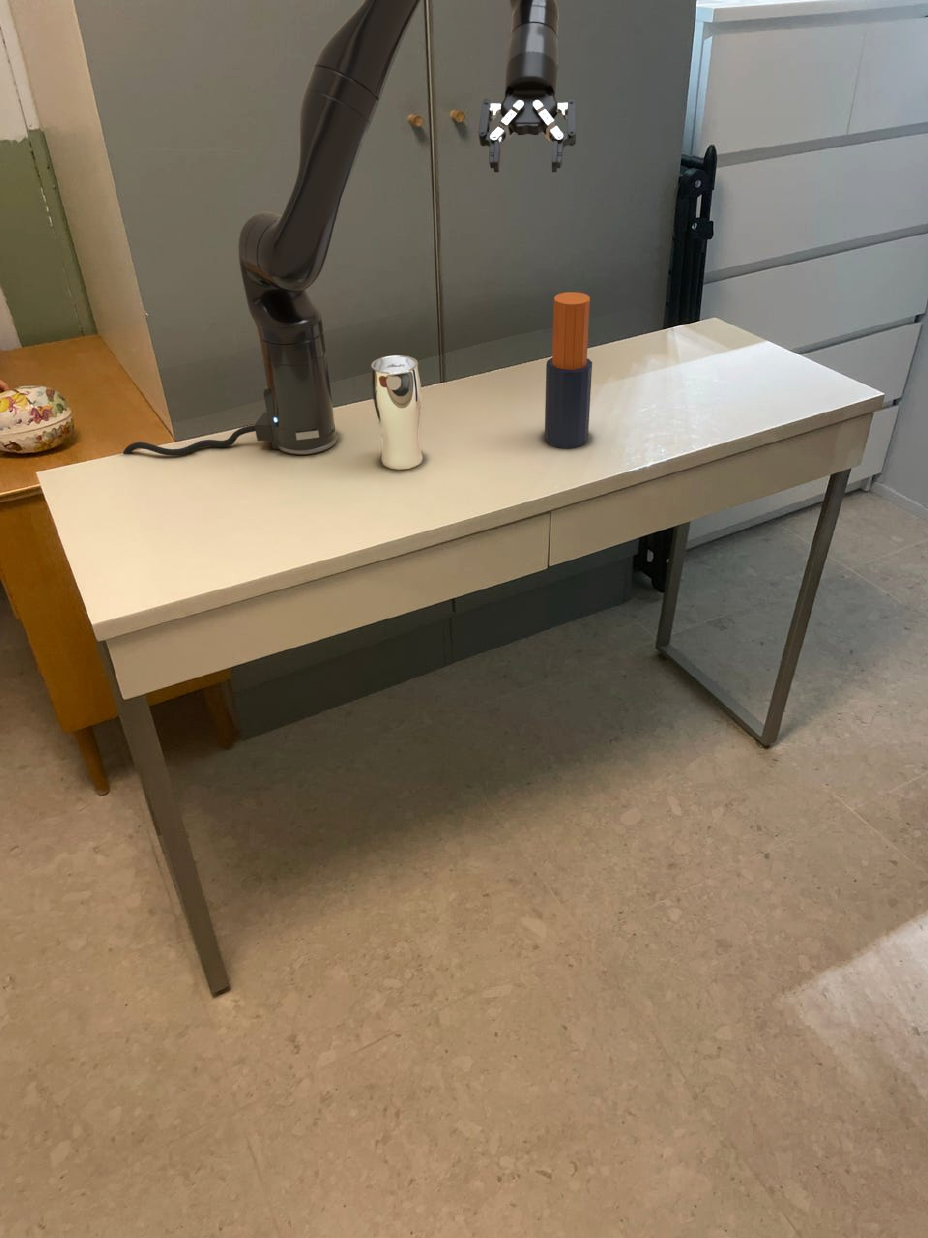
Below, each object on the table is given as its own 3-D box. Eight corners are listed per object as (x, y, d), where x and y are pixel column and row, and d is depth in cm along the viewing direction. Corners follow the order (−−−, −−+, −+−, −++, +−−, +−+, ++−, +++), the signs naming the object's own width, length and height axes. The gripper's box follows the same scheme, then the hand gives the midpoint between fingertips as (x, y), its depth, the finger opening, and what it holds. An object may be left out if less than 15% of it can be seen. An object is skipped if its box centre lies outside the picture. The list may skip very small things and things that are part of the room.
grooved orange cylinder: (551, 369, 134) (553, 303, 129) (553, 356, 138) (554, 291, 133) (586, 370, 134) (589, 304, 128) (587, 356, 138) (590, 292, 132)
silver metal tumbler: (419, 473, 136) (412, 374, 127) (373, 469, 137) (363, 372, 128) (430, 451, 141) (424, 355, 132) (385, 448, 142) (377, 353, 133)
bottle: (543, 447, 141) (546, 341, 131) (546, 428, 146) (548, 324, 136) (587, 448, 140) (593, 341, 130) (588, 429, 146) (594, 325, 136)
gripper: (481, 50, 136) (474, 153, 134) (580, 48, 134) (574, 152, 132) (486, 86, 143) (479, 184, 141) (579, 84, 141) (573, 184, 139)
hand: (525, 168), depth 136 cm, fingers open, 8 cm apart
